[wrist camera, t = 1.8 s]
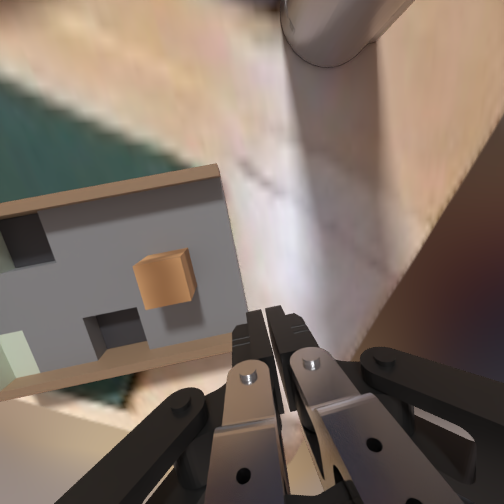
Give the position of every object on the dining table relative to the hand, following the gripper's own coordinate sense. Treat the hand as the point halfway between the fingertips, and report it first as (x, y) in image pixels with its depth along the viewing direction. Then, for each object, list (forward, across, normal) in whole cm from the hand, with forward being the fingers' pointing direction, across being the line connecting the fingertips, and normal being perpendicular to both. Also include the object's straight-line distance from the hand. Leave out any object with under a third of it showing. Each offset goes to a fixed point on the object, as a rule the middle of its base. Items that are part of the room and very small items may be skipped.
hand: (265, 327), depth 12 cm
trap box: (+17, +14, 0) cm, 22 cm away
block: (+14, +8, 0) cm, 16 cm away
